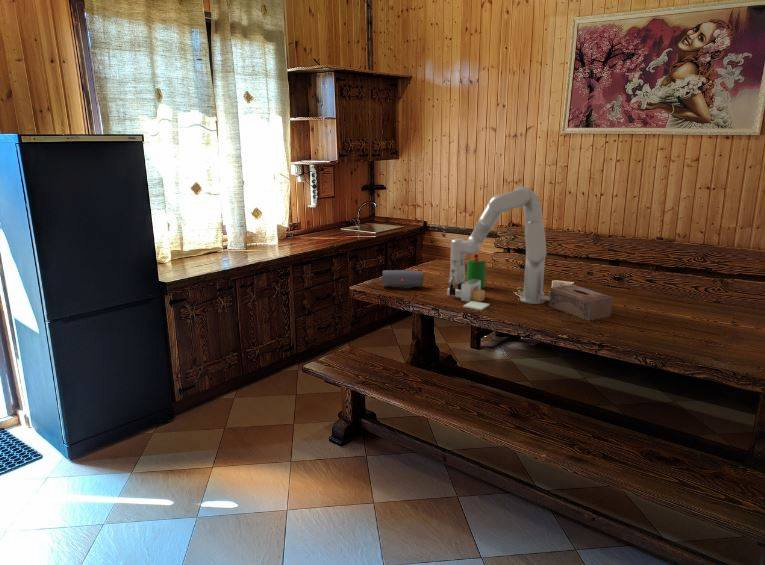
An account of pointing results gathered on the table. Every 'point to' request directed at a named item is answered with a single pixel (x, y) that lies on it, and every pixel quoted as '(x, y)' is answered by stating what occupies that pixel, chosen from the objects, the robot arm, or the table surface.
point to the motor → (476, 270)
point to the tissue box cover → (581, 302)
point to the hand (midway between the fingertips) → (456, 293)
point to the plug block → (478, 295)
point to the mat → (476, 305)
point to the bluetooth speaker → (402, 278)
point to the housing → (469, 289)
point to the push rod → (457, 292)
